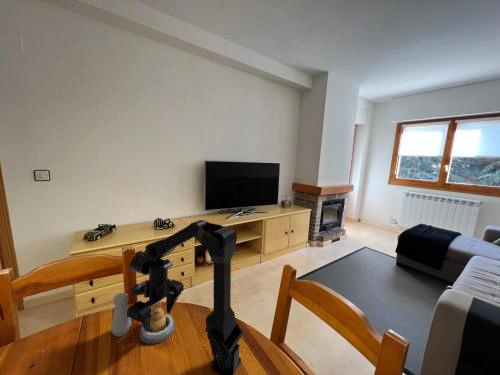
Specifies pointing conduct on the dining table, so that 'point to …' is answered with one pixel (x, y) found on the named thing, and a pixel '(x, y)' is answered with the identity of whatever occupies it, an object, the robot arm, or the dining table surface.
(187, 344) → the dining table surface
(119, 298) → the salt shaker
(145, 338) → the grey shallow dish
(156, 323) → the beige tiered cylinder
